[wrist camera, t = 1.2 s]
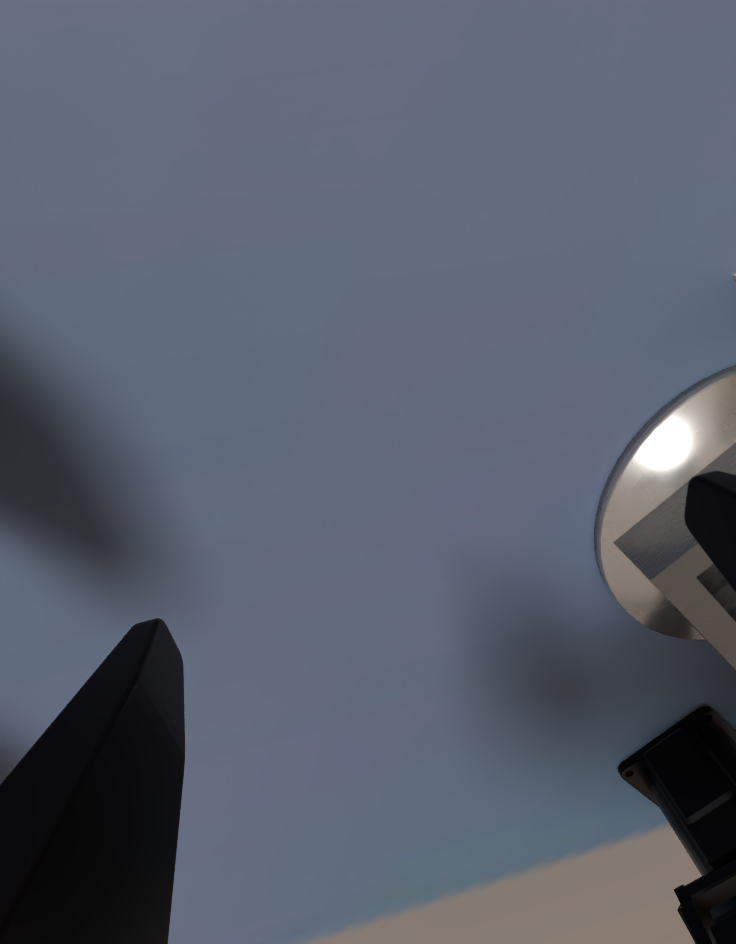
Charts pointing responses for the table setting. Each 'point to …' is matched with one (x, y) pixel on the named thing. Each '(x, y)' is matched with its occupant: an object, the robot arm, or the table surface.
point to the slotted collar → (670, 518)
